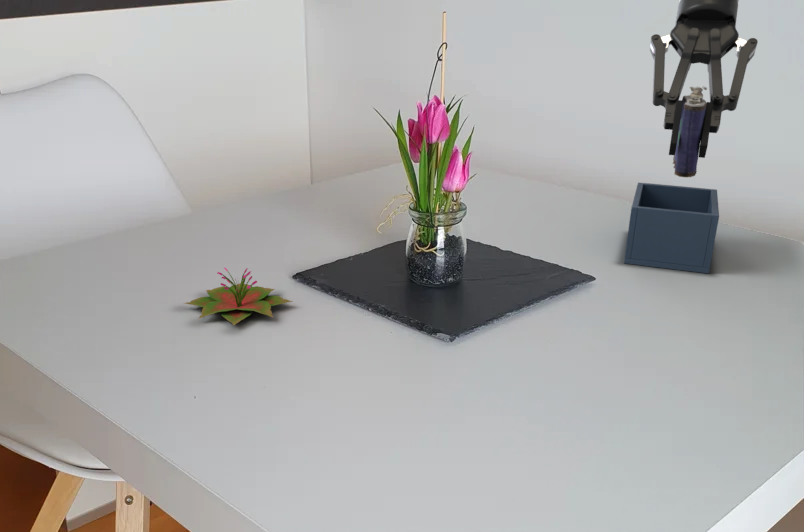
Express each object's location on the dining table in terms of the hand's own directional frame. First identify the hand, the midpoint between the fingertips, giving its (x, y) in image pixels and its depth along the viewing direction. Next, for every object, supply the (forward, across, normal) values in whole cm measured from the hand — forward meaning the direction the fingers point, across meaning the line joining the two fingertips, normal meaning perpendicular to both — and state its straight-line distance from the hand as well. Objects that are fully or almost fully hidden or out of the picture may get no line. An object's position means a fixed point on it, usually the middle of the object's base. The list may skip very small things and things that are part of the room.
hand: (687, 150), depth 105 cm
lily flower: (+35, -46, -13) cm, 59 cm away
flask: (0, 0, +5) cm, 5 cm away
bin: (+7, 0, +15) cm, 16 cm away
